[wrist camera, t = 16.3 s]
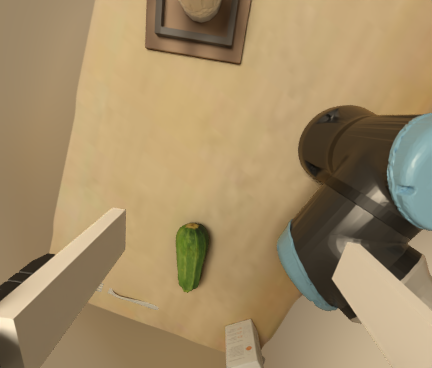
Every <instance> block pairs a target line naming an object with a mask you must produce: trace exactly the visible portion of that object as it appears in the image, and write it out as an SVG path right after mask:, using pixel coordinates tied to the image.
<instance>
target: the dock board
mask: <svg viewBox="0 0 432 368" xmlns="http://www.w3.org/2000/svg"><path fill="white" fill-rule="evenodd" d="M250 1H251V0H222V1H221V6H220V8H219V10H218V13H217V14H216V15H215V16H214V17H213V18H212V19H211V20H210V21H206V22H203V23H200V22H197V21H193V20H192V19H191V18H190V17H189V16H188V15H186V14H185V11H184V9H183V7H182V5H181V4H180V2H179V0H147V9H146V39H145V47H146V48H147V49H152V50H158V51H164V52H170V53H176V54H182V55H188V56H194V57H200V58H206V59H212V60H218V61H224V62H230V63H236V64H240V61H241V55H242V49H243V43H244V37H245V31H246V25H247V19H248V13H249V7H250Z"/></svg>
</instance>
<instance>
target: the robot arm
mask: <svg viewBox="0 0 432 368" xmlns="http://www.w3.org/2000/svg"><path fill="white" fill-rule="evenodd" d="M298 153H299V159H300V162H301V165H302V166H303V168H304V169H305V171H306V172H307V173H308V174H309V175H311V176H312V177H314V178H315V179H317V180H319V181H321V182H324V183H325V184H323V185H322V186H321V187H320V188H319V189H318V191H317V192H316V193H315V194H314V195H313V197H312V198H311V199H310V200H309V201H308V202H307V204H306V205H305V206H304V207H303V208H302V209H301V211H300V212H299V213H298V214H297V215H296V216H295V218H294V219H291V220H290V221H289V223H288V226H287V227H286V229H285V230H284V231H283V233H282V234H281V235H280V237H279V239H278V241H277V251H278V256H279V259H280V261H281V264H282V266H283V268H284V270H285V271H286V273H287V275H288V276H289V278H290V279H291V281H292V282H293V283H294V285H295V286H296V287H297V288H298V290H299V291H300V292H301V293H302V294H303V295H304V296H305V297H306V298H307V299H308V300H309V301H313V302H314V304H315V305H316V306H317V307H319V308H320V309H322V310H325V311H331V310H336V309H337V308H339V309H340V310H341V311H342V312H343V313H344V314H345V315H346V316H347V317H348V318H349V319H350V320H351V321H352V322H356V323H361V324H363V325H364V327H365V328H366V330H367V331H368V333H369V334H370V336H371V337H372V339H373V340H374V342H375V343H376V345H377V346H378V347H379V349H380V350H381V352H382V353H383V355H384V356H385V358H386V359H387V361H388V362H389V364H390V365H391V367H392V368H432V277H431V275H430V273H429V270H428V266H427V262H426V258H425V256H424V255H423V254H421V253H419V252H418V251H417V250H415V249H414V248H412V247H411V246H409V245H408V242H409V241H410V240H411V239H412V238H413V237H415V236H416V235H417V234H418V233H419V232H420V231H421V230H423V229H426V230H428V231H432V113H428V114H423V115H376V114H374V113H373V112H371V111H369V110H367V109H365V108H362V107H359V106H353V105H346V106H337V107H333V108H329V109H327V110H325V111H323V112H321V113H320V114H318V115H317V116H316V117H314V118H313V119H312V120H311V121H310V122H309V124H308V125H307V126H306V128H305V129H304V131H303V133H302V135H301V138H300V141H299V148H298ZM327 185H328V186H327ZM125 231H126V209H119V208H111V209H110V210H109V211H108V212H106V213H105V214H104V215H103V216H102V217H101V218H99V219H98V220H97V221H96V222H95V223H93V224H92V225H91V226H90V227H89V228H87V229H86V230H85V231H84V232H83V233H81V234H80V235H79V236H78V237H77V238H75V239H74V240H73V241H72V242H71V243H69V244H68V245H67V246H66V247H65V248H63V249H62V250H61V251H60V252H59V253H58V254H56V255H55V254H46V255H44V256H42V257H40V258H38V259H35V260H33V261H32V262H30V263H29V264H28V265H27V266H25V267H24V268H23V269H21V270H20V271H19V273H16V274H15V275H13V276H12V277H11V278H9V279H8V281H7V282H4V283H3V284H2V285H0V368H40V367H41V366H42V364H43V363H44V361H45V360H46V359H47V357H48V356H49V354H50V353H51V352H52V350H53V349H54V348H55V346H56V345H57V343H58V342H59V341H60V339H61V338H62V336H63V335H64V334H65V332H66V331H67V329H68V328H69V327H70V325H71V324H72V322H73V321H74V320H75V318H76V317H77V316H78V314H79V313H80V311H81V310H82V308H83V307H84V306H85V305H86V303H87V302H88V300H89V299H90V298H91V296H92V295H93V294H94V292H95V291H96V289H97V288H98V287H99V285H100V284H101V282H102V281H103V280H104V278H105V277H106V275H107V274H108V273H109V271H110V270H111V269H112V267H113V266H114V264H115V263H116V262H117V260H118V259H119V257H120V256H121V255H122V253H123V252H124V251H125ZM406 237H407V238H406ZM409 239H410V240H409Z"/></svg>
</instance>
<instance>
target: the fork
mask: <svg viewBox="0 0 432 368" xmlns="http://www.w3.org/2000/svg"><path fill="white" fill-rule="evenodd" d="M102 285H104V284H102V283H101V285H99V287H103V286H102ZM99 287H98V288H97V289H100V290H97V289H96V291H100V292H101V291H102V288H99ZM108 293H109V294H112V295H114V296H115V297H118V298H120V299H124V300H128V301H131V302H134V303H137V304H140V305H143V306H146V307H148V308H151V309H155V310H158V309H159V308H158V307H157V306H155V305H153V304H150V303H147V302H143V301H139V300H135V299H130V298H126V297H122V296H119V295H117V294H115V293H114V291H113V290H112V289H111V288H110V289H109V291H108Z"/></svg>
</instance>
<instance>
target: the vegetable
mask: <svg viewBox="0 0 432 368" xmlns="http://www.w3.org/2000/svg"><path fill="white" fill-rule="evenodd" d="M208 244H209V237H208V233H207V231H206V229H205V228H204V227H203V226H202V225H201V224H198V223H189V224H186V225H184V226H182V227H180V229H179V230H178V232H177V235H176V253H177V267H178V280H179V285H180V286H181V287H182V289H183V291H184V292H187V293H188V292H189V291H192V290H193V289H195V288H197V287H198V285H199V281H200V278H201V272H202V267H203V263H204V259H205V256H206V253H207V250H208Z"/></svg>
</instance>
